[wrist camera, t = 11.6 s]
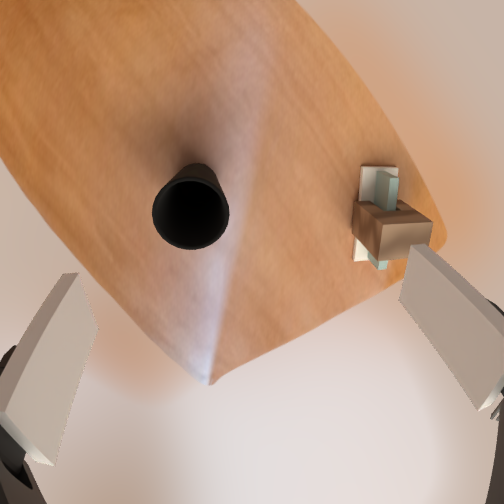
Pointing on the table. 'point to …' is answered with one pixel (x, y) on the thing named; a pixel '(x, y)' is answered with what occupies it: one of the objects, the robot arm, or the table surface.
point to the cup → (191, 209)
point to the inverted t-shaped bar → (376, 201)
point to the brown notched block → (389, 229)
